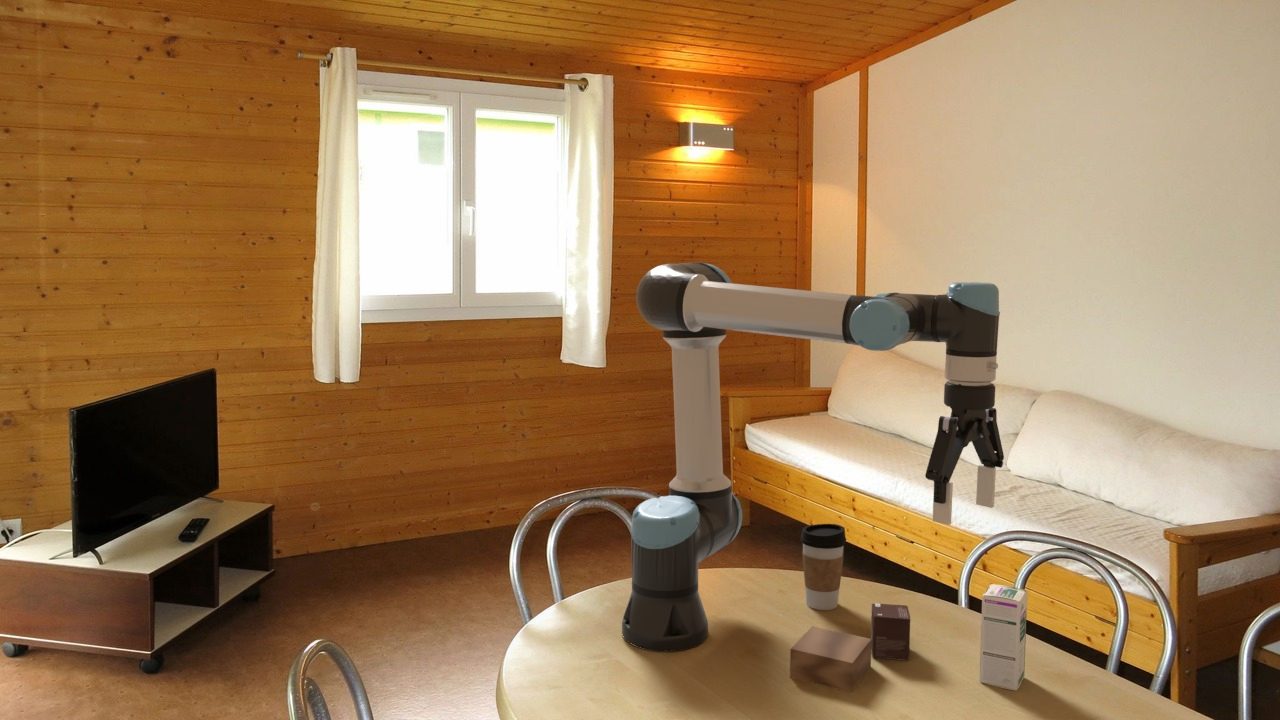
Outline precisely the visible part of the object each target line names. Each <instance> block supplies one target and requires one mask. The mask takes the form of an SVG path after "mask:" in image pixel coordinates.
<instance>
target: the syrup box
mask: <svg viewBox="0 0 1280 720" xmlns="http://www.w3.org/2000/svg"><path fill="white" fill-rule="evenodd" d="M1027 604H1028V591H1027V590H1026V589H1023V588H1018V587H1016V586H1015V587H1014V586H1010V585H1004V584H1003V585H1002V584H993V583H991V584H989V586H988V588H987V589H986V590H985V591H984V593H983V594H982V596H981V620H980V621H981V624H980V627H981V628H980V657H979V658H980V659H979V660H980V661H979V662H980V663H979V682H980V683H982V684H986V685H989V686H992V687H997V688H1001V689H1006V690H1010V691H1013V692H1014V691H1016V692H1018V690H1019V688H1020V686H1021V684H1022V682H1023V680H1024V678H1025V669H1026V666H1025V665H1026V642H1027V641H1026V639H1027V638H1026V637H1027V608H1028V605H1027Z"/></svg>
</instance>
